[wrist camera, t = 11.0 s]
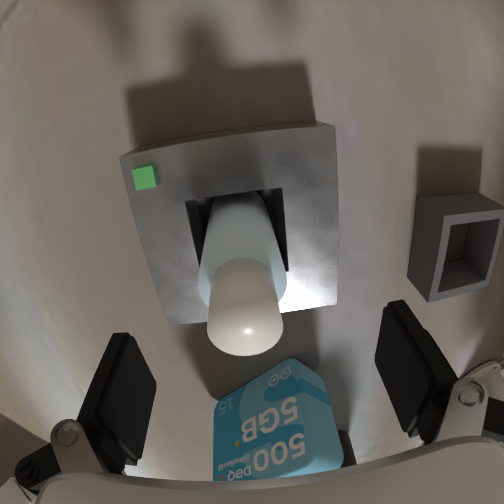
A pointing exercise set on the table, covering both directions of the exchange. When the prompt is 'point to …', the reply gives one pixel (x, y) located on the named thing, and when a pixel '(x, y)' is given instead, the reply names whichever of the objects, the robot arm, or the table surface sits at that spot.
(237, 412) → the data package
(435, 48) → the table surface
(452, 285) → the grey open box
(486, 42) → the table surface
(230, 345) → the plug
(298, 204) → the port
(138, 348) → the robot arm
